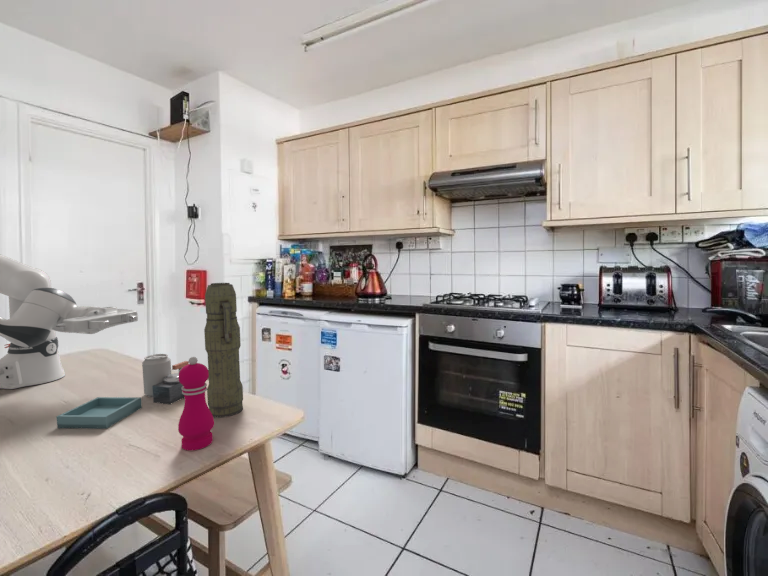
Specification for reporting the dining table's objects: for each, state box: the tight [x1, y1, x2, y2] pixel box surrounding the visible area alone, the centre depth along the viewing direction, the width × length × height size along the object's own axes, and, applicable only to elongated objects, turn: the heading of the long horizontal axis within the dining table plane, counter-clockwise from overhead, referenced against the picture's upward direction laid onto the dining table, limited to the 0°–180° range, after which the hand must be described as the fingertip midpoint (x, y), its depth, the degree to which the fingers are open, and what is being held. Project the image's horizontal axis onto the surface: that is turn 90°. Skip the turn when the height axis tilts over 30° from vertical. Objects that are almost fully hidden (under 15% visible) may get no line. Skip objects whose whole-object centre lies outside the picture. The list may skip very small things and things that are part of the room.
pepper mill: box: [177, 356, 215, 452], centre depth 83 cm, size 7×7×20 cm
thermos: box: [203, 282, 244, 418], centre depth 100 cm, size 9×12×35 cm
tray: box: [56, 396, 143, 430], centre depth 98 cm, size 13×13×3 cm
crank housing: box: [152, 360, 189, 405], centre depth 112 cm, size 7×12×10 cm, turn 165°
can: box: [141, 353, 172, 398], centre depth 114 cm, size 8×8×12 cm
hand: (121, 321), depth 115 cm, fingers open, 8 cm apart
